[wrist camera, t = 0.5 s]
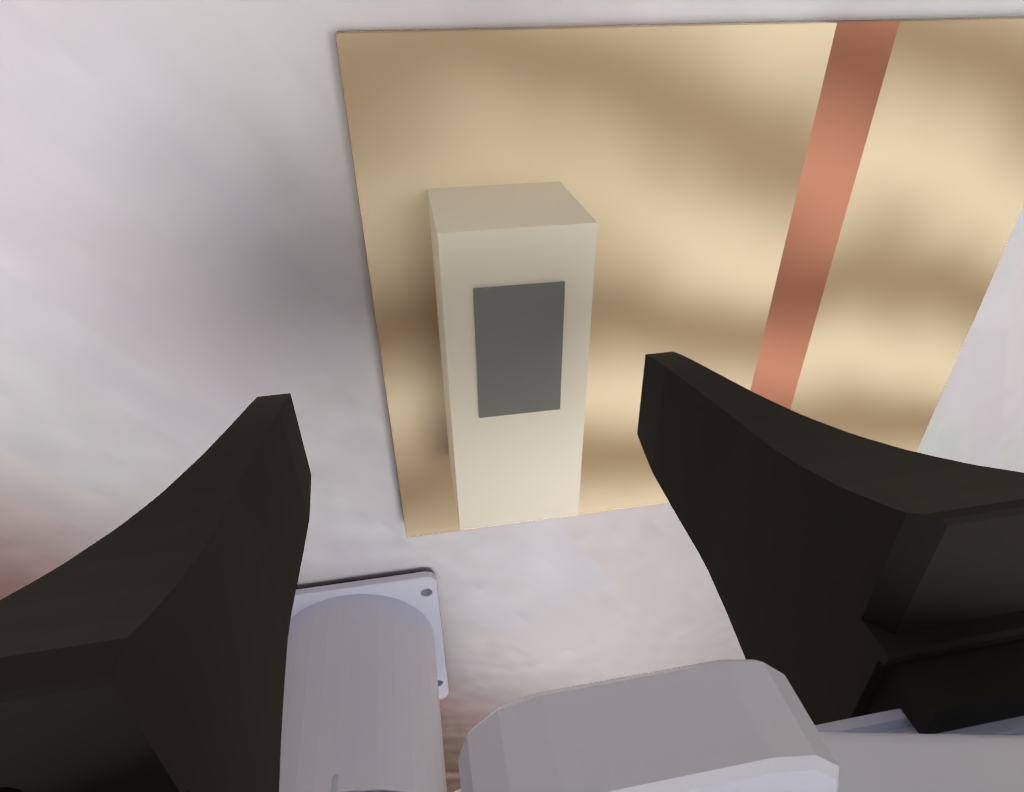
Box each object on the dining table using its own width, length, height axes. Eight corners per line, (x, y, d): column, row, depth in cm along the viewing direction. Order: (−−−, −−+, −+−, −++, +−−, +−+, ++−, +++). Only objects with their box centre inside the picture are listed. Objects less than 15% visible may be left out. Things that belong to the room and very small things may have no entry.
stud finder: (551, 443, 25) (578, 516, 21) (449, 455, 24) (460, 533, 21) (559, 181, 19) (598, 224, 16) (427, 188, 18) (437, 234, 15)
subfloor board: (893, 457, 30) (908, 470, 29) (405, 520, 27) (406, 537, 26) (1075, 15, 20) (1105, 17, 19) (337, 31, 17) (335, 33, 16)
